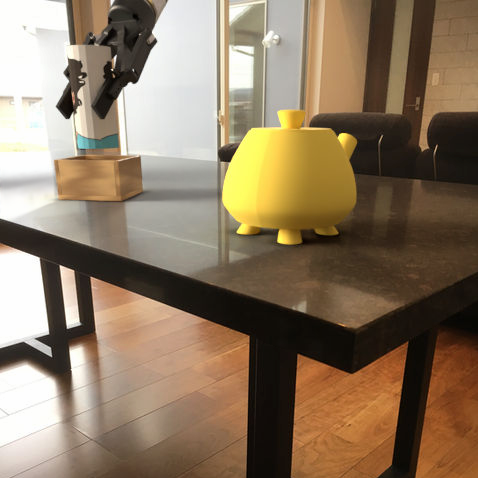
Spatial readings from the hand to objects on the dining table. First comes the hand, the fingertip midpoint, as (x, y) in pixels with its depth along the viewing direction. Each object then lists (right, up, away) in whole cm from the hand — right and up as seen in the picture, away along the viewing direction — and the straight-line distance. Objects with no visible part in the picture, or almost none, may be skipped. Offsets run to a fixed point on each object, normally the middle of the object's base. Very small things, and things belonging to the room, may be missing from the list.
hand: (79, 112), depth 82 cm
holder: (+2, -11, +8) cm, 14 cm away
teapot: (+33, -22, -18) cm, 43 cm away
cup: (+2, -4, +5) cm, 7 cm away
